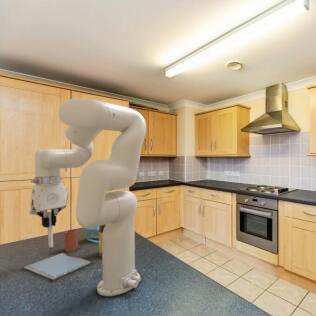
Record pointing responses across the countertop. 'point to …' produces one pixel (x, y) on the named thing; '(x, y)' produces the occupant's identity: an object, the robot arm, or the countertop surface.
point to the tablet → (57, 266)
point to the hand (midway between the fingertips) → (49, 225)
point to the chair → (93, 234)
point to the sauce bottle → (100, 239)
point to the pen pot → (71, 240)
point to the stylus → (50, 231)
